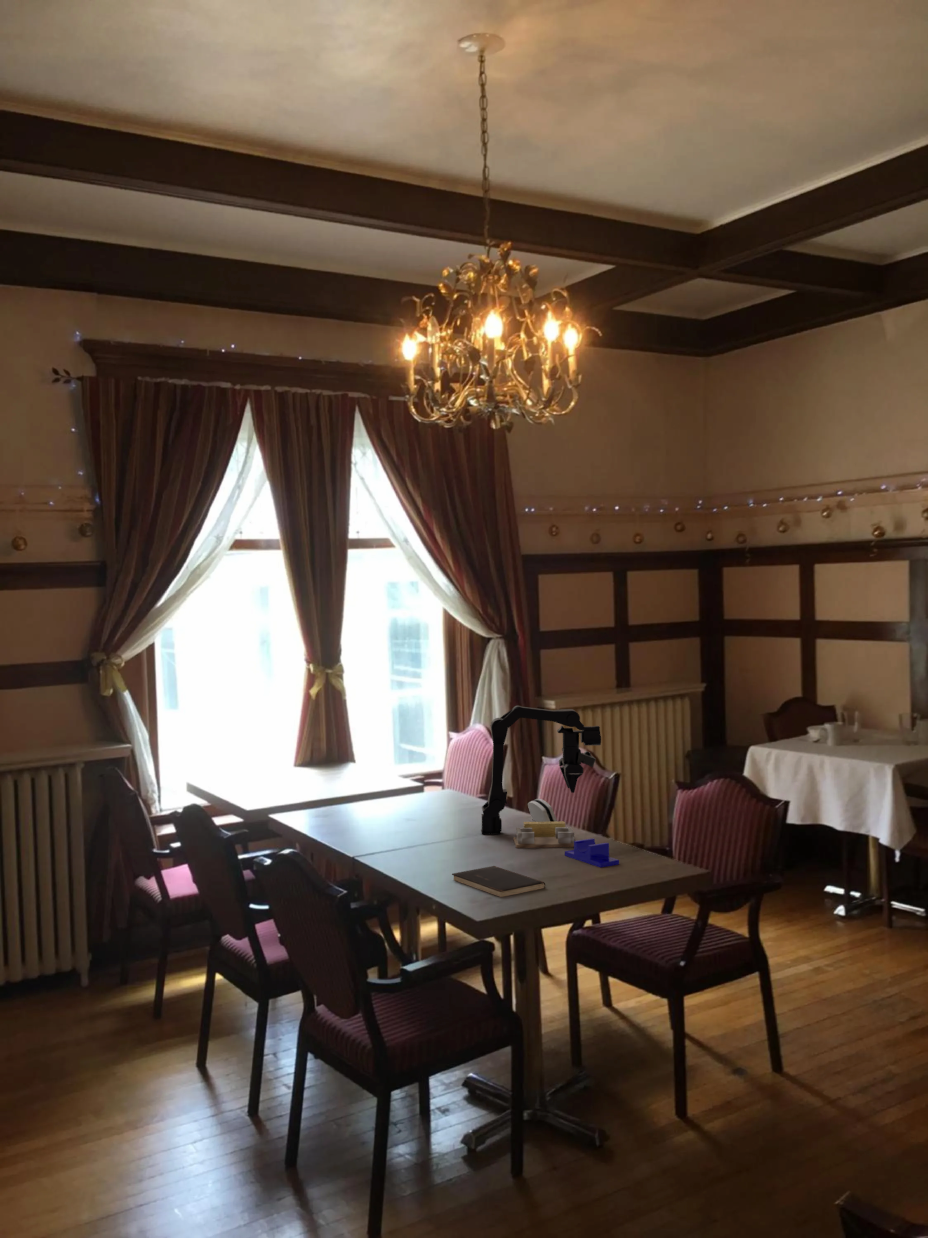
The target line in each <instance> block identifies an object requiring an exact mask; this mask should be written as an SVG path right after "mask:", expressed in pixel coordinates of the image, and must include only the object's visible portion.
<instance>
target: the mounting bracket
mask: <svg viewBox="0 0 928 1238" xmlns="http://www.w3.org/2000/svg"><path fill="white" fill-rule="evenodd" d="M595 841H596V840H595V838H594V837H593V838H591V837H590V838H584V839H579V840H575V841H574V847H573V849H571V850H565V851H564V856H565V857H568V858H570V859H574V860H576V861H580V862H582V863H586V864H589V865H591V866H595V867H597V868H605V867H612V866H618V865H620V860H619V859H617V858H614V857H611V856H610V844H609V842H601V843H596V842H595Z"/></svg>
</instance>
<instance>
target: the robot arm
mask: <svg viewBox="0 0 928 1238" xmlns="http://www.w3.org/2000/svg"><path fill="white" fill-rule="evenodd" d="M519 719H527V720H529V719H530V720H539V721H546V722H553V723H556V724H559V725H561V726H560V727H559V728H558V729H557V730H556V732H557V733H558V734H562V747H561V751H562V757H561V758H560V759H559V760H558V766H559V769H560V771H561V772H560V773H561V774H562V776H563V779H564V782H565V785H566V787H567V789H569V791H570V793H571V794H574V793H575V792H576V788H577V787H576V786H577V783H578V779H579V777H581V776H583V774H584V767H583V766H582V764H584V765H586V766H589V767H591V768H594V765H595V762H596V760H597V758H595V757H594V756H593V755H592V754H591V752H590V751H588V750H585V752H582V750H581V748H580V743H583V745H584V746H587V747H588V746H589V747H590V746H601V743H602V735H601V727H600V725H592V726H590V725H589V726H585V724H584V723H582V721H581V717H580V714H579V713H578V712H577V711H576V710H574V709H572V708H563V709H561V708H560V709H553V710H552V709H543V708H537V707H536V708H535V707H527V706H521V705H515V706H513V708H512V709H510V710H509V711H507V712H506V713H504V714H503V715H501V716H500V717H495V718H493V720H491V722H490V727H489V728H490V732H491V739H492V765H491V766H492V767H491V768H492V769H491V785H490V788H489V793H488V798H487V801H486V802H485V803H484V804H483V805H482V806H481V811H482V813H481V816H480V817H481V829H480V831H481V832H480V834H481V835H501V832H502V818H501V815H500V813H501V812H502V811H503V810H504V809H505V807H506V805H507V804H508V801H507V796H508V790H507V789H506V788H504V787H503V778H504V777H503V776H504V752H505V750H504V749H505V747H504V746H505V743H506V739H507V735H508V734H507V733H508V730H509V728H510V727H512V726H513V725H514V724H515V723H516V722H517V721H518V720H519ZM564 726H566V727H564ZM573 728H575V729H577V730H574V729H573Z"/></svg>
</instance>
